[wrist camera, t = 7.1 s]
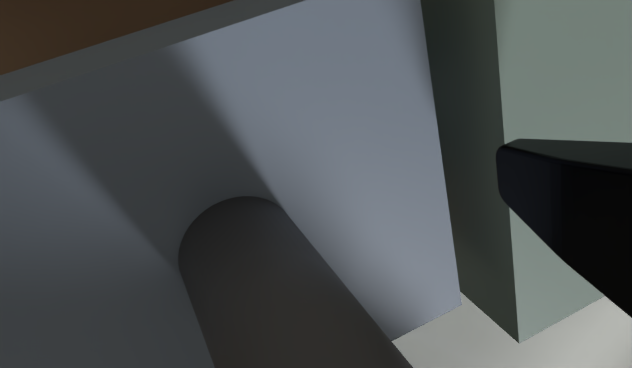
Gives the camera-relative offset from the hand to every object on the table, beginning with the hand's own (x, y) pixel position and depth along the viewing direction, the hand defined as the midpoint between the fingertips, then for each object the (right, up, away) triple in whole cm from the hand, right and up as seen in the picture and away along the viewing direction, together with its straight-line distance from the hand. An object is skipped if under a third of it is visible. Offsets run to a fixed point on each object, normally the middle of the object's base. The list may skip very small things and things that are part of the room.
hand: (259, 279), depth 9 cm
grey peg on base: (-2, +2, +4) cm, 4 cm away
